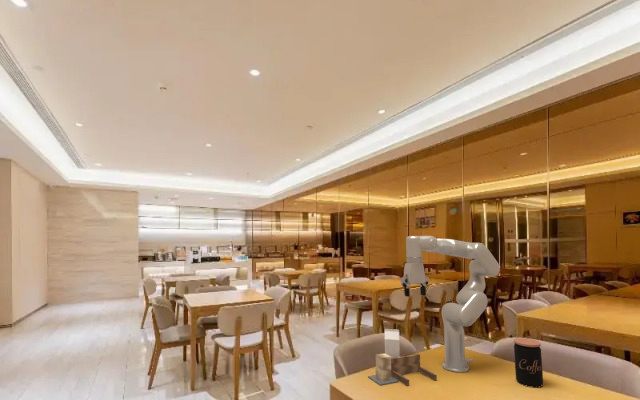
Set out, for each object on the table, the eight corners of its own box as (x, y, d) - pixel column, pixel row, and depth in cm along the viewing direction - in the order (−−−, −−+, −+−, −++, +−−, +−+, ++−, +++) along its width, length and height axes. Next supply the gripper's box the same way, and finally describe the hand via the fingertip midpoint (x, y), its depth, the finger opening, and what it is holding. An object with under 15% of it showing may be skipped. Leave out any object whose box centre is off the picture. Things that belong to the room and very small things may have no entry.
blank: (385, 375, 162) (384, 353, 163) (391, 379, 158) (390, 356, 159) (376, 377, 160) (375, 354, 161) (382, 381, 156) (381, 357, 157)
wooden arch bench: (418, 371, 170) (418, 353, 171) (436, 380, 158) (436, 362, 159) (390, 375, 163) (390, 358, 164) (407, 386, 152) (406, 367, 153)
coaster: (386, 374, 165) (386, 373, 165) (398, 382, 156) (398, 380, 156) (368, 377, 161) (368, 376, 162) (379, 385, 152) (379, 384, 152)
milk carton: (400, 372, 168) (399, 331, 171) (385, 370, 170) (384, 330, 172) (399, 366, 175) (398, 327, 178) (385, 365, 177) (384, 327, 179)
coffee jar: (518, 385, 153) (515, 343, 155) (513, 377, 163) (511, 337, 165) (546, 389, 149) (543, 346, 151) (540, 380, 159) (537, 339, 161)
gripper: (423, 260, 180) (424, 293, 178) (395, 260, 174) (396, 295, 172) (433, 260, 174) (434, 295, 172) (404, 261, 167) (405, 298, 165)
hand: (415, 295), depth 172 cm, fingers open, 9 cm apart
